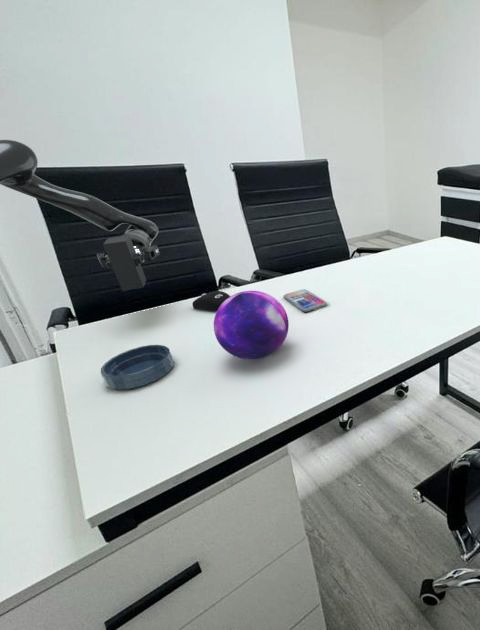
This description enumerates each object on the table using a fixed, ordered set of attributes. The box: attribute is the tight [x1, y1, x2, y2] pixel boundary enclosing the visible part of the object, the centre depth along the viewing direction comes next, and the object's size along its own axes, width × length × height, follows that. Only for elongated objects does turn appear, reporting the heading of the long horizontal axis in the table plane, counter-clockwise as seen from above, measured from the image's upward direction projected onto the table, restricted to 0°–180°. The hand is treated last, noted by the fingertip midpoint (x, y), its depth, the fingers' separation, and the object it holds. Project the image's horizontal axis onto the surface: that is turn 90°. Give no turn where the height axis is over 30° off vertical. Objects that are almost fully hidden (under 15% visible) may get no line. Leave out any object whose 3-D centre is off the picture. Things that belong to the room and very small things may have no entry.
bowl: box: [100, 344, 175, 390], centre depth 82 cm, size 12×12×4 cm
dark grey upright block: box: [102, 235, 147, 292], centre depth 97 cm, size 4×6×12 cm
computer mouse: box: [191, 290, 232, 312], centre depth 112 cm, size 8×12×4 cm, turn 70°
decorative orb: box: [213, 290, 290, 360], centre depth 84 cm, size 15×15×15 cm
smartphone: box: [283, 288, 328, 313], centre depth 113 cm, size 7×1×15 cm
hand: (123, 264), depth 94 cm, fingers closed on dark grey upright block, 4 cm apart
